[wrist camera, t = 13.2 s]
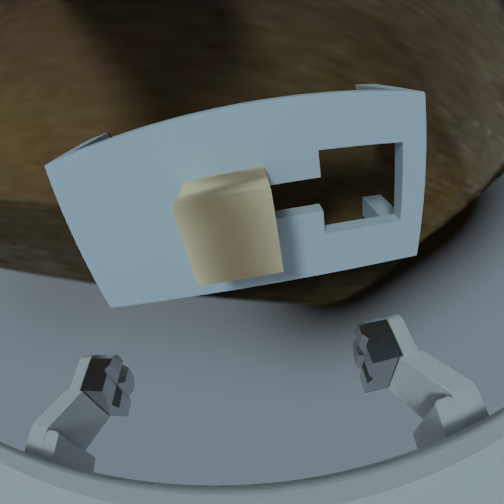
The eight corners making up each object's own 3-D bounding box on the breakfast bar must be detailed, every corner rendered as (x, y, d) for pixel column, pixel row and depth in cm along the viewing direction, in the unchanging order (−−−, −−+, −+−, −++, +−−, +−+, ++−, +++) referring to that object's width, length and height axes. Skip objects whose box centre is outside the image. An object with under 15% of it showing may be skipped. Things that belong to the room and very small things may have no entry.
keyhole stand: (375, 84, 22) (424, 91, 15) (379, 212, 29) (416, 255, 22) (90, 139, 23) (44, 165, 16) (133, 255, 30) (110, 307, 23)
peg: (258, 149, 21) (271, 190, 14) (268, 209, 24) (283, 271, 17) (192, 163, 22) (172, 209, 15) (208, 220, 24) (198, 286, 17)
